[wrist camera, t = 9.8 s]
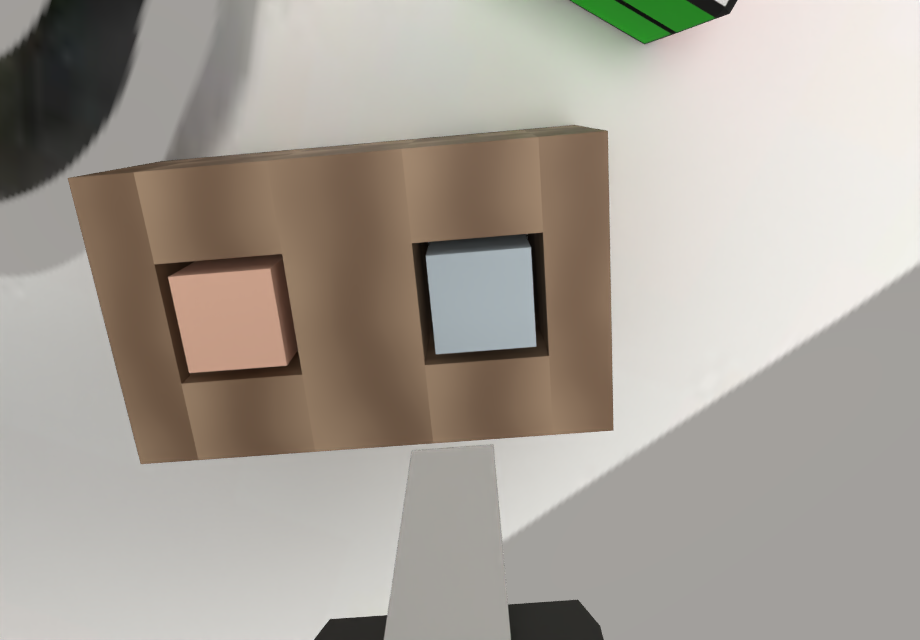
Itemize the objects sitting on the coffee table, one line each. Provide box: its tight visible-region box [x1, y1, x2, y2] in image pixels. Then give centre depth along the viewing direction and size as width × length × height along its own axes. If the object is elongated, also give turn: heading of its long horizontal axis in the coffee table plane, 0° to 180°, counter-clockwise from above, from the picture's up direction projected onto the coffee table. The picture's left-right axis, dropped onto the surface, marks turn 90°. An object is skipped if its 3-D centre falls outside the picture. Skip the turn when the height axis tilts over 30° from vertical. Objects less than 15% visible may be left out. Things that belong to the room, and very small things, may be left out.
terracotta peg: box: [168, 254, 298, 373], centre depth 30 cm, size 4×4×8 cm
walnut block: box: [68, 125, 613, 464], centre depth 30 cm, size 20×12×8 cm, turn 95°
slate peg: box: [426, 234, 536, 354], centre depth 30 cm, size 4×4×8 cm
